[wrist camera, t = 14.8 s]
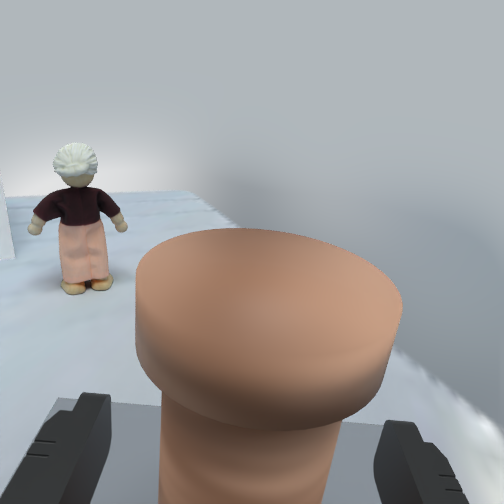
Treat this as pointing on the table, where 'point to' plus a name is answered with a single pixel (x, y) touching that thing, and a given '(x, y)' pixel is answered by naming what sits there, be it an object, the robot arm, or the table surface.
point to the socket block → (148, 454)
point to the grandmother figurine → (79, 220)
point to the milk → (5, 229)
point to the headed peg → (258, 359)
